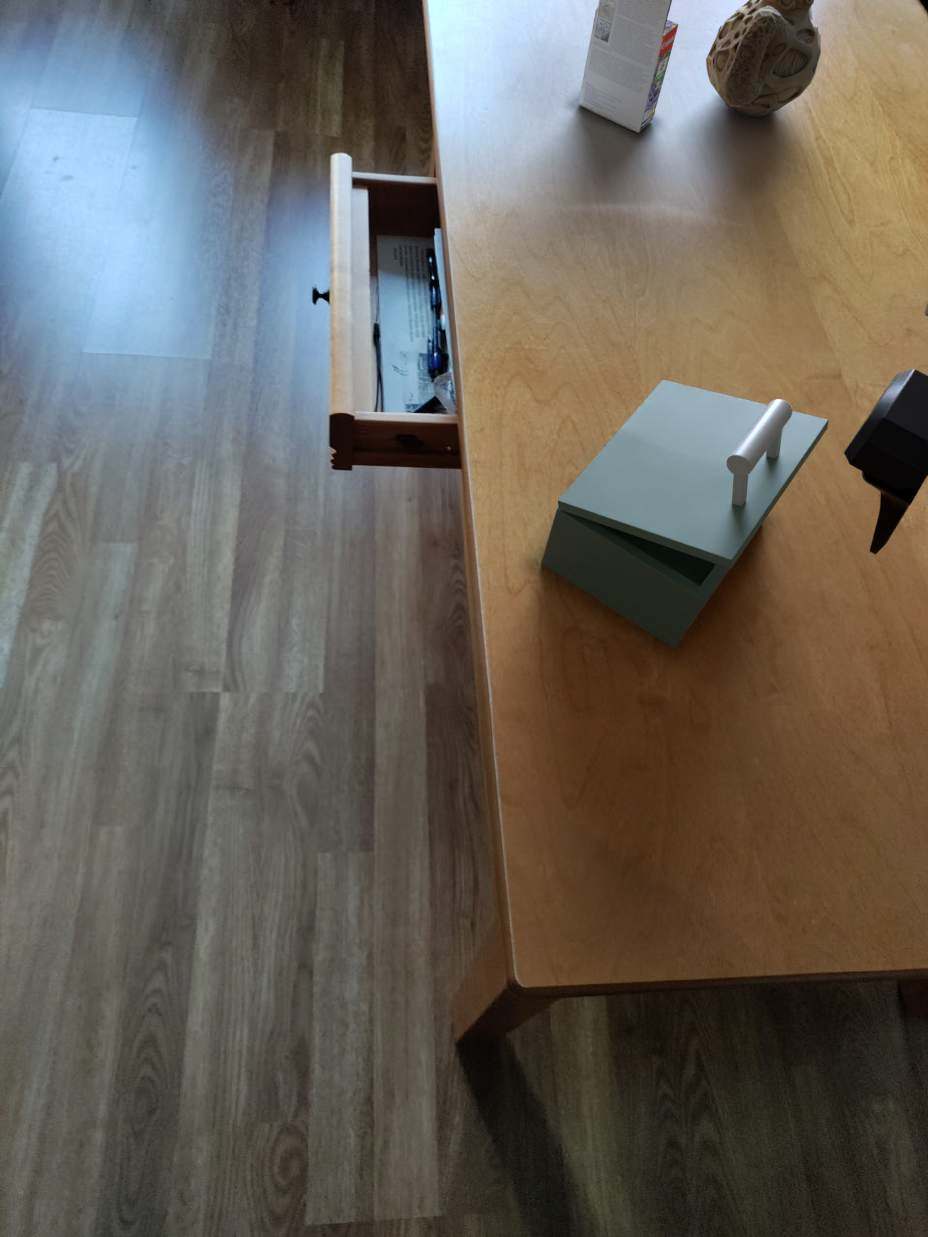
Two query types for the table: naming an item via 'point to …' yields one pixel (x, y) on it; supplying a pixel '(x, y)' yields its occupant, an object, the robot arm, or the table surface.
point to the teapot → (764, 55)
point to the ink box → (627, 60)
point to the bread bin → (632, 574)
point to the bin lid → (695, 470)
